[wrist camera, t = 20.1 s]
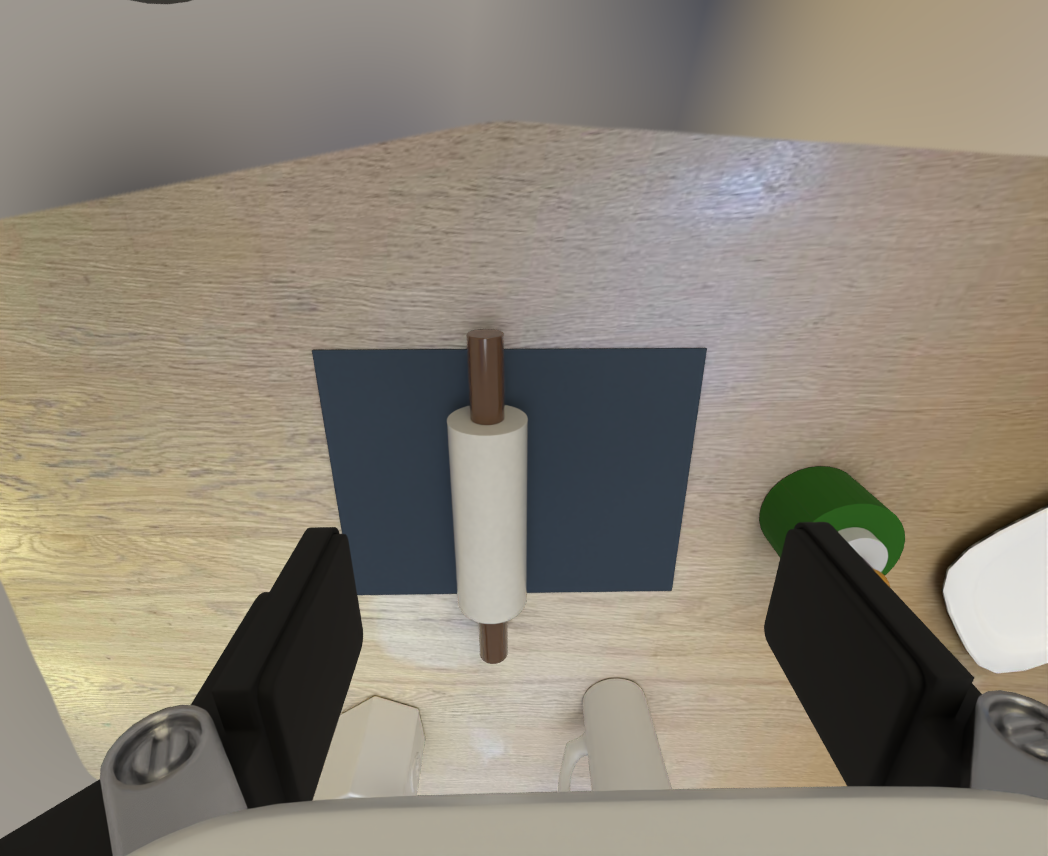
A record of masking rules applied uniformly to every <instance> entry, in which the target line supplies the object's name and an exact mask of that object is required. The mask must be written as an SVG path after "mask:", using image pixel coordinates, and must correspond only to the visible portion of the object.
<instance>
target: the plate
mask: <svg viewBox="0 0 1048 856" xmlns="http://www.w3.org/2000/svg"><path fill="white" fill-rule="evenodd" d="M942 593H943V597H944V601H945V605H946V609H947V612H948V614H949V616H950V618H951V621H952V623H953V625H954V627H955V629H956V631H957V633H958V635H959V637H960V639H961V641H962V643H963V645H964V647H965V649H966V650H967V651H968V653H969V654H970V655H971V656H972V658H973V659H974V660H975V662H976V663H977V664H978V665H979V666H981V667H983V668H986V669H988V670H990V671H993V672H995V673H1005V672H1016V671H1025V670H1028V669H1031V668H1034V667H1037V666H1040V665H1043V664H1046V663H1048V505H1047V506H1045V507H1043V508H1041V509H1038V510H1036V511H1034V512H1032V513H1030V514H1028V515H1026V516H1024V517H1022V518H1020V519H1018V520H1016V521H1014V522H1012V523H1010V524H1008V525H1006V526H1004V527H1002V528H1000V529H998V530H996V531H995V532H993V533H991V534H990V535H988V536H986V537H985V538H983V539H981V540H980V541H978V542H976V543H975V544H973V545H971V546H970V547H968V548H967V549H966V550H965V551H964V552H963V553H962V554H961V555H960V556H959V557H958V558H957V559H956V560H955V561H954V562H953V563H952V564H951V565H950V566H949V567H948V568H947V571H946V575H945V579H944V583H943V587H942Z"/></svg>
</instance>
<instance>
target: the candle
mask: <svg viewBox="0 0 1048 856" xmlns="http://www.w3.org/2000/svg"><path fill="white" fill-rule="evenodd" d="M759 521H760V526H761V530H762V532H763V534H764V536H765V537H766V538H767V540H768V541H769V543H770V544H771V545H772V547H773V548H774V550H775V551H776V552H777V554H778V555H779V557H780V558H781V554H782V550H783V546H784V542H785V538H786V534H787V532H788V531H789V530H790V529H794V527H795V525H796V524H797V523H799V522H828V523H830V524H831V525H832V526H833V527H834V528H835V529H836V530H837V531H838V532H839V533H840V535H841V536H842V537H843V538H844V539H845V540H846V541H847V542H848V543H849V544H850V545H851V546H852V547H853V548H854V550H855V551H856V552H857V553H858V554H859V555H860V556H861V557H862V558H863V559H864V560H865V561H866V562H867V563H868V564H869V566H870V567H871V568H872V569H873V570H874V571H875V572H876V573H877V574H878V575H879V576H880V577H881V578H882V579H883V581H884V582H885V583H886V584H887V585H888V586H889V587H890V585H889V582H888V580H887V578H886V577H885V575H886V574H887V573H888V572H889V571H890V570H891V569H892V568H893V567H894V566H895V564H896V563H897V561H898V559H899V558H900V556H901V553H902V551H903V548H904V543H905V532H904V528H903V526H902V523H901V522H900V520H899V519H898V517H897V516H896V515H895V514H894V513H892V512H891V511H890V510H889V509H888V508H887V507H886V506H884V505H883V504H882V503H881V502H880V501H879V500H877V499H876V498H875V497H874V496H873V495H872V494H871V493H869V492H868V491H867V490H866V489H865V488H864V487H863V486H861V485H860V484H859V483H858V482H857V481H856V480H854V479H853V478H852V477H851V476H850V475H848V474H847V473H846V472H844V471H842V470H840V469H837V468H833V467H825V466H817V467H810V468H806V469H802V470H799V471H797V472H795V473H792V474H790V475H788V476H787V477H785V478H784V479H782V480H781V481H780V482H778V483H777V484H776V485H775V486H774V487H773V488H772V489H771V491H770V492H769V493H768V495H767V496H766V498H765V500H764V502H763V504H762V506H761V510H760V519H759Z"/></svg>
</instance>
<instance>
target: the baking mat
mask: <svg viewBox="0 0 1048 856" xmlns="http://www.w3.org/2000/svg"><path fill="white" fill-rule="evenodd" d="M706 351H707V349H706V348H613V349H504V395H505V405H508V406H512V407H515V408H518V409H520V410H521V411H523V412H524V413H525V414H526V415H527V417H528V477H527V593H546V592H619V591H672V585H673V578H674V571H675V564H676V557H677V551H678V544H679V537H680V530H681V523H682V516H683V509H684V502H685V496H686V489H687V482H688V475H689V468H690V461H691V454H692V448H693V441H694V434H695V427H696V420H697V413H698V406H699V399H700V393H701V386H702V379H703V372H704V365H705V358H706ZM312 354H313V360H314V366H315V372H316V378H317V384H318V390H319V396H320V402H321V408H322V414H323V420H324V426H325V432H326V438H327V444H328V450H329V456H330V462H331V468H332V474H333V481H334V487H335V493H336V499H337V505H338V511H339V517H340V523H341V529H342V534H346V535H347V537H348V541H349V547H350V553H351V559H352V565H353V572H354V578H355V584H356V590H357V595H400V594H457V582H456V565H455V549H454V533H453V516H452V500H451V484H450V467H449V451H448V435H447V418H448V416H449V415H450V414H451V413H452V412H454V411H456V410H458V409H460V408H463V407H466V406H469V382H468V358H467V349H391V350H312Z"/></svg>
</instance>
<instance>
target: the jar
mask: <svg viewBox="0 0 1048 856" xmlns="http://www.w3.org/2000/svg"><path fill="white" fill-rule="evenodd" d="M424 746H425V735H424V731H423V727H422V722H421V718H420V714H419V710H418V709H417V708H414V707H411V706H407V705H404V704H401V703H397V702H394V701H391V700H387V699H384V698H380V697H377V696H374V697H372V698H370V699H368V700H367V701H365V702H363V703H361V704H359V705H357V706H356V707H354V708H352V709H350V710H348V711H346V712H345V713H343V714H341V715H340V717H339V720H338V723H337V726H336V729H335V733H334V736H333V739H332V742H331V745H330V748H329V751H328V754H327V758H326V761H325V764H324V767H323V770H322V773H321V776H320V780H319V783H318V786H317V789H316V792H315V795H314V798H313V801H314V800H326V799H349V798H371V797H393V796H417V792H418V786H419V779H420V773H421V766H422V759H423V753H424Z"/></svg>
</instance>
